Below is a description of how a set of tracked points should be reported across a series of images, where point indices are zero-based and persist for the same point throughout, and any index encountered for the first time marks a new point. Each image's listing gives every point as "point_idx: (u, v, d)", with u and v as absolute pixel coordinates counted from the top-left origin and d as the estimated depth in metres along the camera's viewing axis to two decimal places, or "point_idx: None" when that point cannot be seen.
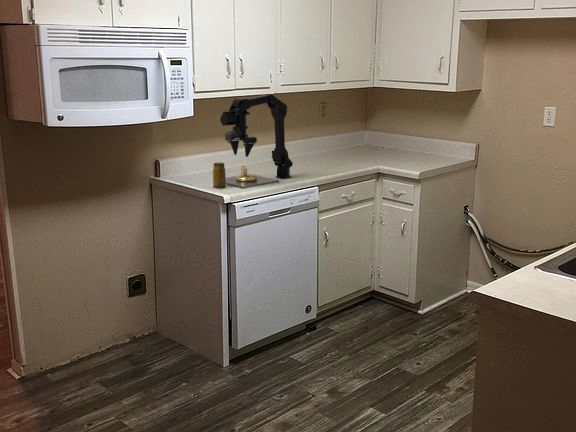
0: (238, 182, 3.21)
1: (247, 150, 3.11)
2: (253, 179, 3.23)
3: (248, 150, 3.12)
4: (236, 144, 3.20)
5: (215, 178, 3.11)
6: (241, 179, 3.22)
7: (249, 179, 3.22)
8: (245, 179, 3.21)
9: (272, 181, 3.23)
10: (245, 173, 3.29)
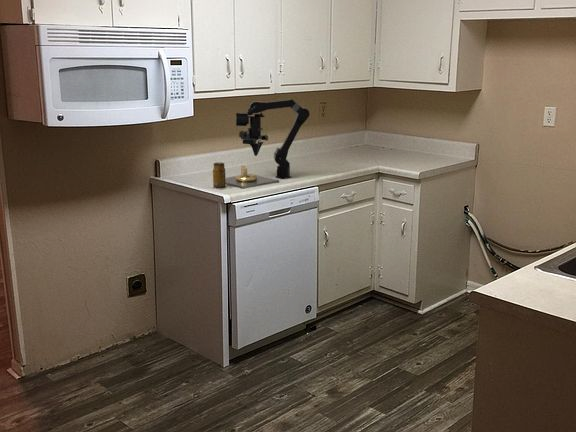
0: (238, 182, 3.21)
1: (253, 149, 3.32)
2: (253, 179, 3.23)
3: (255, 149, 3.32)
4: None
5: (215, 178, 3.11)
6: (241, 179, 3.22)
7: (249, 179, 3.22)
8: (245, 179, 3.21)
9: (272, 181, 3.23)
10: (245, 173, 3.29)
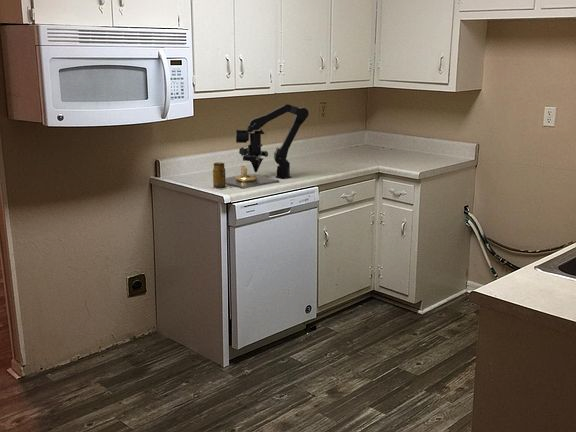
0: (238, 182, 3.21)
1: (253, 166, 3.34)
2: (253, 179, 3.23)
3: (255, 166, 3.34)
4: None
5: (215, 178, 3.11)
6: (241, 179, 3.22)
7: (249, 179, 3.22)
8: (245, 179, 3.21)
9: (272, 181, 3.23)
10: (245, 173, 3.29)
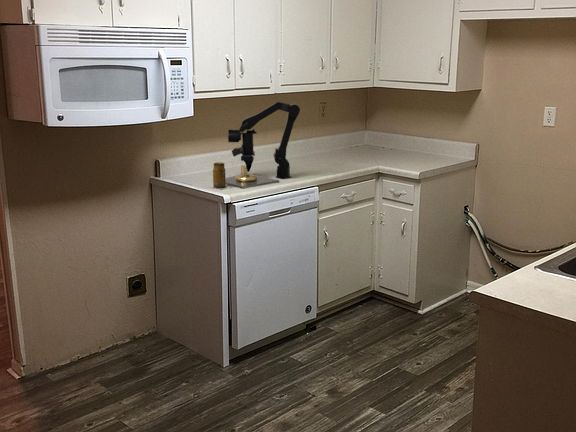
0: (238, 182, 3.21)
1: (247, 165, 3.34)
2: (253, 179, 3.23)
3: (248, 165, 3.34)
4: None
5: (215, 178, 3.11)
6: (241, 179, 3.22)
7: (249, 179, 3.22)
8: (245, 179, 3.21)
9: (272, 181, 3.23)
10: (245, 173, 3.29)
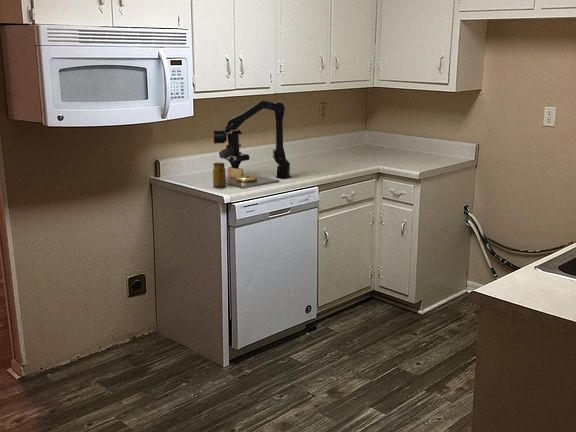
0: (238, 182, 3.21)
1: (235, 166, 3.33)
2: (256, 178, 3.26)
3: (236, 166, 3.33)
4: None
5: (215, 178, 3.11)
6: (248, 179, 3.22)
7: (255, 178, 3.24)
8: (252, 179, 3.23)
9: (272, 181, 3.23)
10: (242, 173, 3.28)
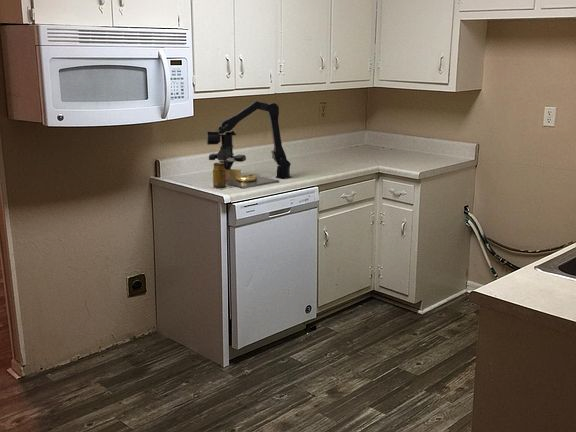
0: (238, 182, 3.21)
1: (229, 167, 3.29)
2: None
3: (230, 167, 3.30)
4: None
5: (215, 178, 3.11)
6: (253, 179, 3.23)
7: None
8: (256, 178, 3.25)
9: (272, 181, 3.23)
10: (240, 174, 3.27)
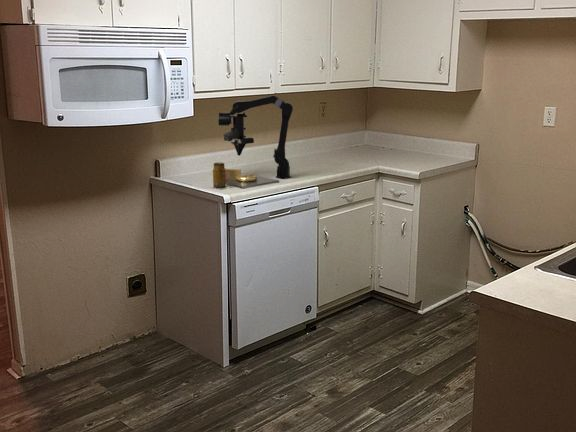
0: (238, 182, 3.21)
1: (239, 149, 3.33)
2: None
3: (240, 149, 3.33)
4: None
5: (215, 178, 3.11)
6: (253, 179, 3.23)
7: None
8: (256, 178, 3.25)
9: (272, 181, 3.23)
10: (240, 174, 3.27)
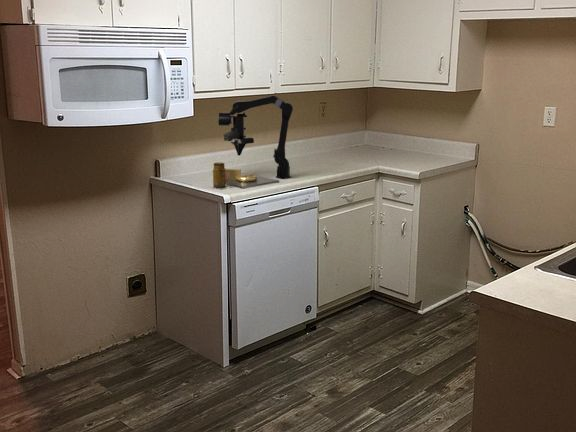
0: (238, 182, 3.21)
1: (239, 149, 3.33)
2: None
3: (240, 149, 3.33)
4: None
5: (215, 178, 3.11)
6: (253, 179, 3.23)
7: None
8: (256, 178, 3.25)
9: (272, 181, 3.23)
10: (240, 174, 3.27)
